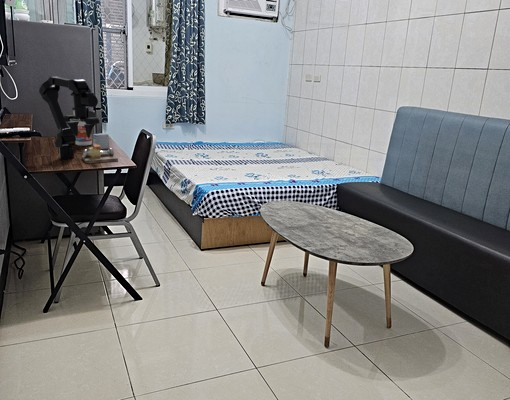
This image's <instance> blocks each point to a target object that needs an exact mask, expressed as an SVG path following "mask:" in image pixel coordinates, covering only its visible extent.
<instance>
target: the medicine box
mask: <svg viewBox="0 0 510 400" xmlns="http://www.w3.org/2000/svg"><path fill="white" fill-rule="evenodd" d="M109 140H110V139H109V134H108V133H106V132H105V133H104V132H103V133H101V132H100V133H93V134H92V143H97V145H100V147H101V150H105V149H109V148H110V141H109Z"/></svg>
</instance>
